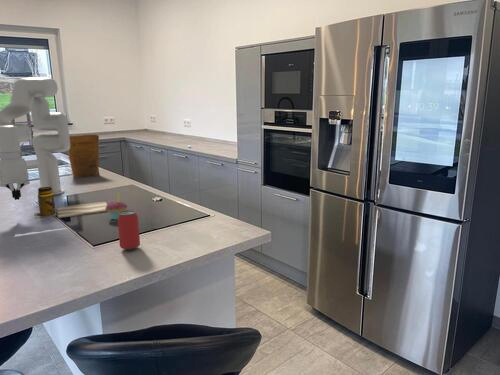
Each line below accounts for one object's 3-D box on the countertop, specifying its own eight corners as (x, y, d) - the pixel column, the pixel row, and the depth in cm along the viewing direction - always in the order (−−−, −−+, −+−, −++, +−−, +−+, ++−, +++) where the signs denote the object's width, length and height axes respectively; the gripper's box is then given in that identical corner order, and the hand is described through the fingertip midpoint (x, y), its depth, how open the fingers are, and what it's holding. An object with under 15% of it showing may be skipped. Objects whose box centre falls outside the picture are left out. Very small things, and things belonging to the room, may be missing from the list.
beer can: (122, 243, 132) (119, 210, 130) (141, 242, 133) (139, 209, 130) (117, 250, 126) (114, 215, 123) (138, 249, 126) (135, 215, 124)
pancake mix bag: (102, 178, 246) (98, 134, 240) (70, 180, 239) (65, 136, 233) (102, 176, 252) (98, 134, 246) (70, 178, 245) (65, 135, 239)
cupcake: (131, 216, 164) (129, 188, 161) (119, 221, 156) (116, 193, 153) (115, 214, 167) (112, 187, 164) (102, 220, 159) (99, 192, 156)
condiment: (57, 215, 166) (54, 188, 163) (35, 218, 162) (31, 191, 159) (55, 211, 172) (52, 185, 169) (34, 214, 168) (30, 187, 165)
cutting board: (57, 208, 176) (57, 207, 176) (105, 203, 185) (105, 201, 185) (58, 217, 162) (57, 216, 162) (110, 211, 171) (109, 209, 171)
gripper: (32, 153, 163) (37, 195, 167) (-10, 156, 157) (-3, 199, 161) (31, 155, 157) (37, 199, 161) (-13, 158, 150) (-5, 203, 154)
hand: (17, 199), depth 161 cm, fingers closed
